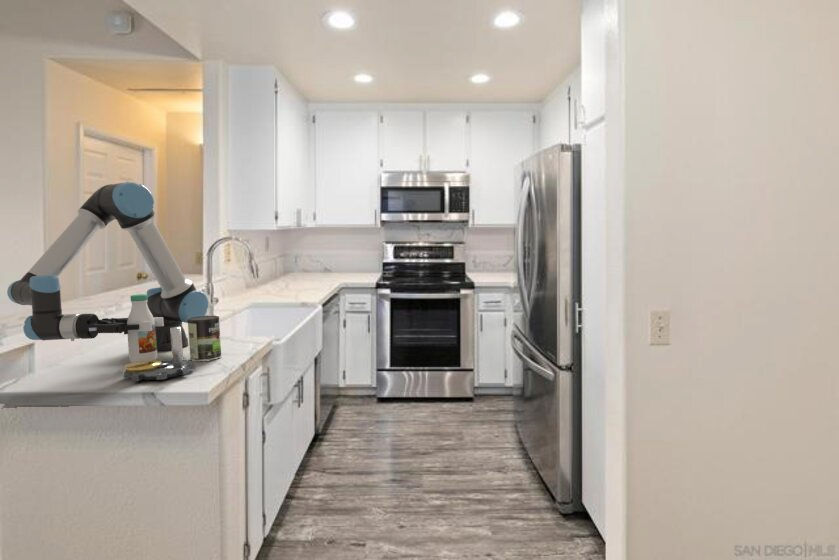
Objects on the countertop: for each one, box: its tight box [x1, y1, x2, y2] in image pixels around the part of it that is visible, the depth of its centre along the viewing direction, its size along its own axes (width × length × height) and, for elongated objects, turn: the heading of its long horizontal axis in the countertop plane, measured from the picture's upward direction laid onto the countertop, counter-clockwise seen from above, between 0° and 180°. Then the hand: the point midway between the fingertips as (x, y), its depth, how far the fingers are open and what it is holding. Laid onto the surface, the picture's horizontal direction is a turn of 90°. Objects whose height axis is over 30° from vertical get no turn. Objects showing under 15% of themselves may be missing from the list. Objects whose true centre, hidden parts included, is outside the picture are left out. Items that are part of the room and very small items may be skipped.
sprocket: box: [123, 327, 196, 382], centre depth 180 cm, size 20×20×14 cm
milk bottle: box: [127, 293, 158, 363], centre depth 179 cm, size 8×8×20 cm
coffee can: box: [187, 315, 223, 362], centre depth 202 cm, size 10×10×14 cm
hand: (157, 323), depth 179 cm, fingers closed on milk bottle, 7 cm apart
